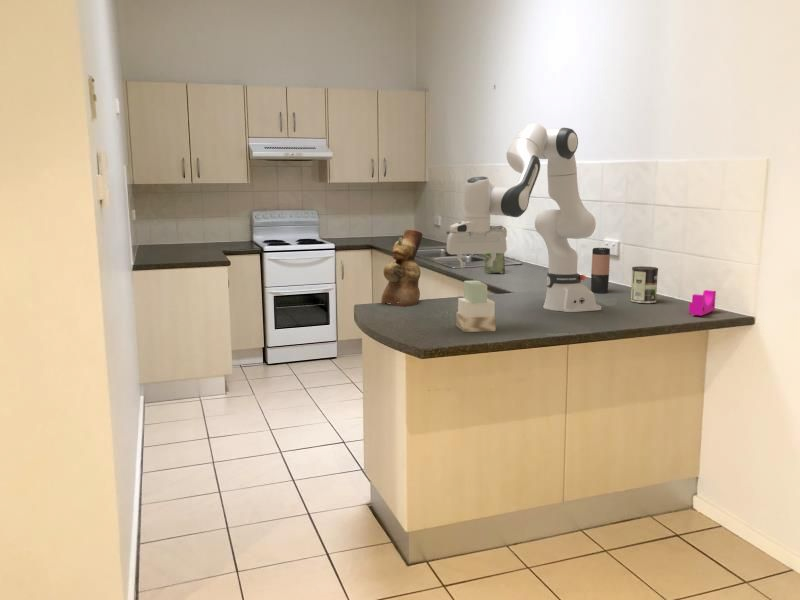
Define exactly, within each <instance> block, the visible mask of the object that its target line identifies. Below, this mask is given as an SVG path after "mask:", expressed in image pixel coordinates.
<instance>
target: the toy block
mask: <svg viewBox="0 0 800 600" xmlns="http://www.w3.org/2000/svg"><path fill="white" fill-rule="evenodd" d="M702 293H703V294H697V293H696V294H695V293H694V294H692V298H691V299H692V300H691V302H689V303H688V313H691V314H690V315H694V316H700V317H701V316H703V315H704V316H705V315H706V314H709V313H711V312H712V311H715V309H716V308H715V307H716V295H717V291H716V290H708V289H706V290H703V292H702Z"/></svg>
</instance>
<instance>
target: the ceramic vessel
mask: <svg viewBox="0 0 800 600" xmlns="http://www.w3.org/2000/svg"><path fill="white" fill-rule="evenodd" d="M422 238H423V232H422V231H419V230H415V229H406V230H404V232H403V236H402V237H398V240H397V241H396V242H394V245H393V247H392V256H393V257H392V258H393V260H392V261H390V262H389V263H387V264H385V266H384V267H383V276H384V278H385V279H386V280H387V281H388V283H387V285H386V287H385V288H384V291H383V293H382V294H381V298H380V299H381V304H382V305H385V304H384V303H391V305H390V306H394V307H410V306H415V305H417V304H418V303H419V301H420V297H421V291H420V287H419V281H420V278H421V268H420V266H419V265H418V263H416V262H415V260H416V259H415V258H416V256H417V253H418V250H419V249H420V245H421V243H422ZM397 302H399V303H397Z"/></svg>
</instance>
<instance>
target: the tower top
mask: <svg viewBox="0 0 800 600" xmlns="http://www.w3.org/2000/svg"><path fill="white" fill-rule="evenodd" d="M495 305H496V302H495V301H493V300H492V299H490V298H488V297H487V303H471V302H470V301H468V300H466V299H465V298H464V297H462V298H460V297H459V298H457V312H458V313H459V314H461V315H462V316H464V317H465V318H477V317H496V316H495V315H496V314H495V313H496V312H495V311H496V310H495V308H496V306H495Z"/></svg>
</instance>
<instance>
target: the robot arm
mask: <svg viewBox="0 0 800 600" xmlns="http://www.w3.org/2000/svg"><path fill="white" fill-rule="evenodd" d="M578 147H579V138H578V135H577V133H576V132H575V130H574V129H572V128H569V127H561V128H560V127H551V128H550V127H549V128H545V127H544V126H543V125H542V124H540V123H535V122H531V123H529V124H527V125H525V126H524V127H523V128H522V129H521V130H520V131H519V132H518V134H517V135H516V136H515V137H514V138H513V140H512V142H511V143H510V144H509V146H508V148H507V152H506V160H507V164H508V165H509V166H510V167H511V169H512V170H514V171H515V172H517V173H519V174H520V177H519V179H518V181H517V183H516V184H514V185H511V186H495V185H493V184H492V183H491V182H490V178H488V176H474V177H470V178H469V179H467V180H466V182H465V183H464V184H465V185H464V191H463V206H464V214H463V221H458V222H456V223H453V224H451V225H449V231H450V233H448V235H447V239H446V249H445V250H446V252H447V254H448V255H456V258H457V260H458V261H459V267H460V268H461V269H462V268H464V269H465V268H466V265H467V264H466V261H463V260H462V258H463V255H477V254H479V255H481V254H483V255H484V254H485V255H486V254H490V256H492V257H491V259H490V261H487V267H493V261H494V259H495V258H496V253H504V254H505V253H506V251H507V249H508V248H507V246H508V245H507V239H506V238H507V236H508V230H507V228H506V227H504V226H503V225H491V216H501V217H502V216H504V217H511V218H518V217H519V218H520V217H522V215H524V213H525V212H526V211H527V210H528V207H529V203H530V197H531V194H532V192H533V190H534V186H535V185H536V181H537V179H538V177H539V174H540V171H541V161H540V160H547V164H546V165H547V169H546V170H547V174H546V175H547V188H548V189H547V190H548V192H547V193H548V196H549V198H551V199H552V200H553V201H554V202H555V203H556V204H557V205H558V207H559V209H552V208H551V209H545V210H542V211H540V212H539V213H538V214H537V215H536V217H535V219H534V229H535V231H536V232H537V233H538V235H540V236H541V238H542V239H543V241H544V243H545V245H546V249H547V253H548V272H547V275H546V287H547V288H546V293H545V300H544V303H543V306H542V308H544V309H545V310H551V311H554V312H555V311H557V312H559V311H560V312H565V313H579V312H581V313H582V312H592V311H601V310H602V306H601V305H600V304H597V302H596V295H595V293H593V292H592V291H591V289H589V287H587V286H586V285H585V284H583V283H582V281H585V280H586V279H587V276H586V275H584V274H579V273H578V259H579V257H578V252H577V251H576V250H575V249H574V248H573V247H571V245H570V244H569V242H568V239H574V240H579V239H586V238H589V237H591V236H592V235H593V234H594V232H595V230H596V225H597V222H596V218H595V216H594V215H593V213H591V212H590V211H589V210H588V209H587V208H586V207H585V205H584V203H583V201H582V199H581V196H580V193H579V188H578V187H579V186H578V170H577V161H576V155H575V154H576V152H577V149H578Z"/></svg>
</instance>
